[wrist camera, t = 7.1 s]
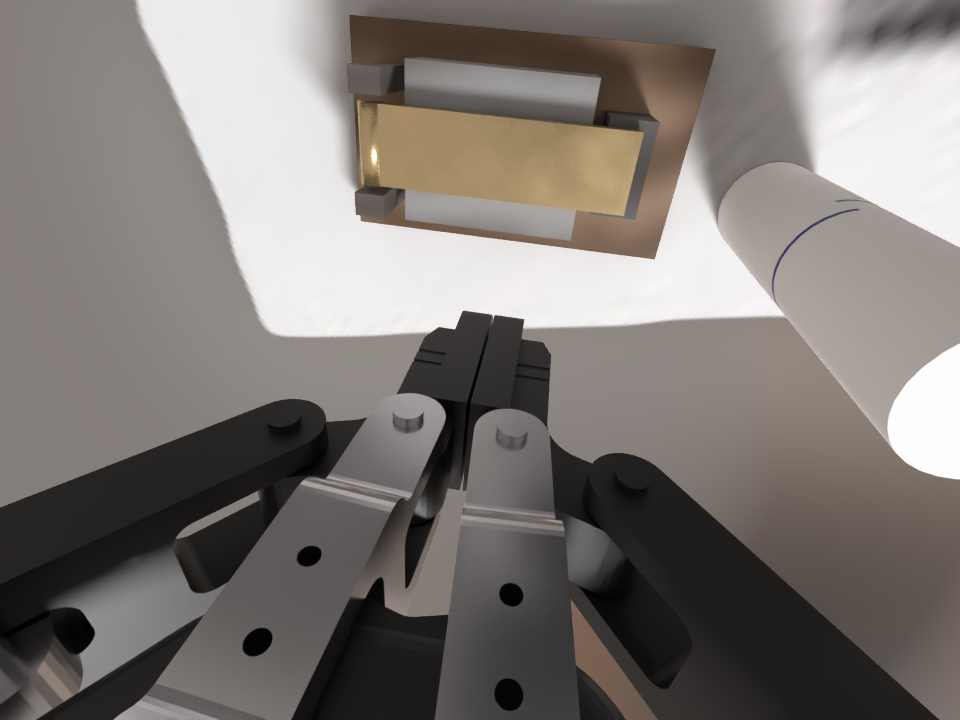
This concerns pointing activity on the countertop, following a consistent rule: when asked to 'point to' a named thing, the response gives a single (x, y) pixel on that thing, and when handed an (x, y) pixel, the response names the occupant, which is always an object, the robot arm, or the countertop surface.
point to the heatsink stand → (541, 95)
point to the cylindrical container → (860, 301)
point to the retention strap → (497, 156)
